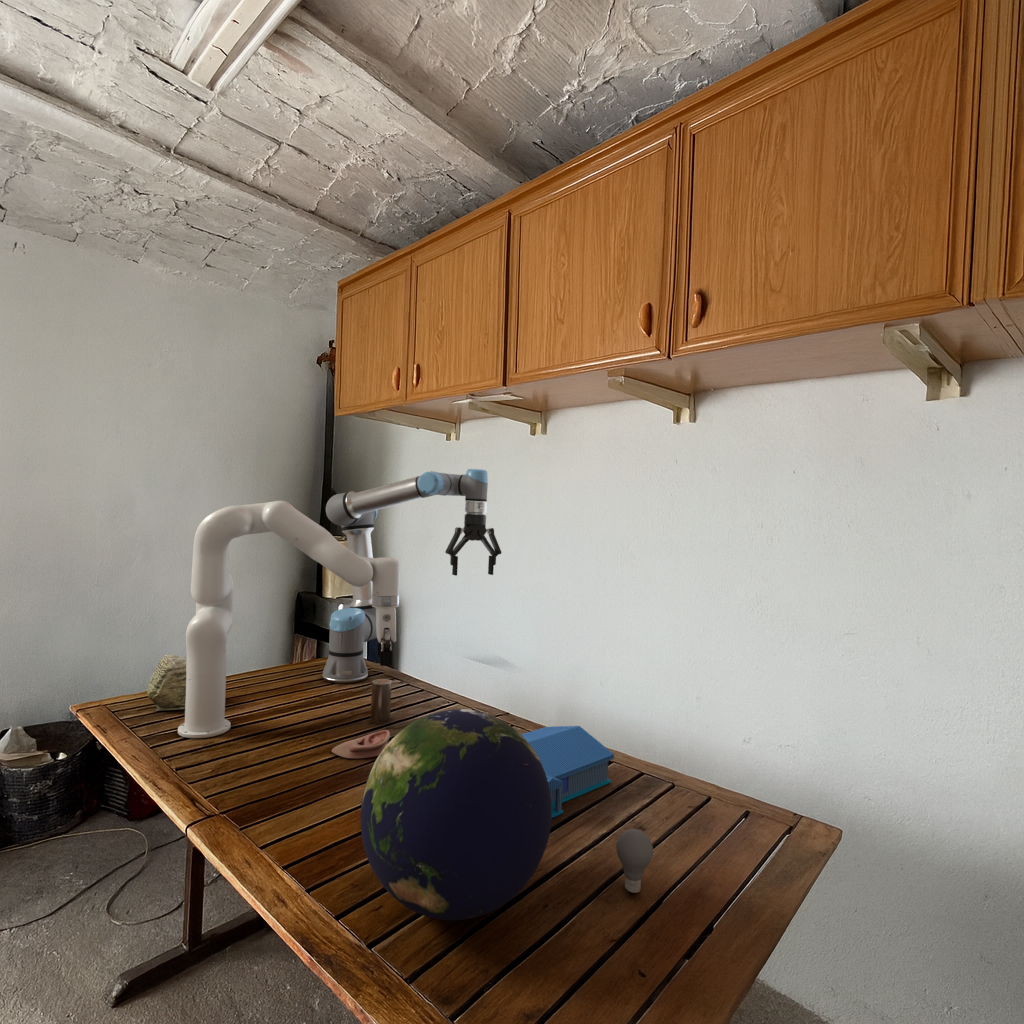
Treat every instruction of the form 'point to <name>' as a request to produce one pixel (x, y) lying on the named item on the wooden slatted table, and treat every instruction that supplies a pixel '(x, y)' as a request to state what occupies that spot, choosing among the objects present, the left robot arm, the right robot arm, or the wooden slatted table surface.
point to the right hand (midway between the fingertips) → (472, 574)
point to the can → (380, 701)
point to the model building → (570, 762)
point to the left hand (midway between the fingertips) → (384, 660)
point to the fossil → (169, 683)
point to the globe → (456, 814)
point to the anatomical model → (363, 746)
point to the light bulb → (634, 857)
